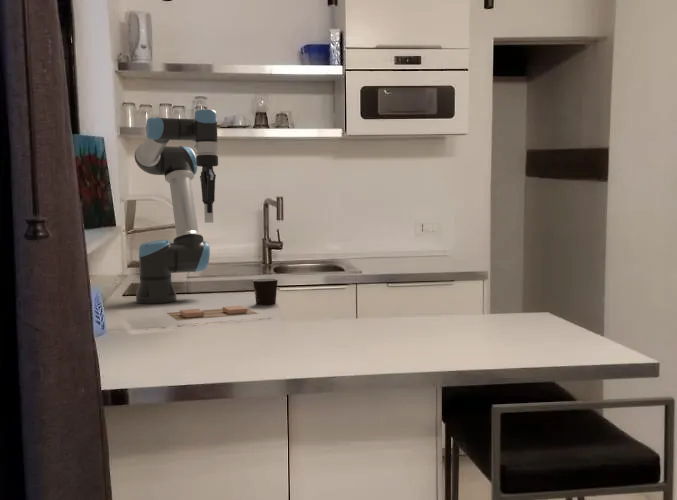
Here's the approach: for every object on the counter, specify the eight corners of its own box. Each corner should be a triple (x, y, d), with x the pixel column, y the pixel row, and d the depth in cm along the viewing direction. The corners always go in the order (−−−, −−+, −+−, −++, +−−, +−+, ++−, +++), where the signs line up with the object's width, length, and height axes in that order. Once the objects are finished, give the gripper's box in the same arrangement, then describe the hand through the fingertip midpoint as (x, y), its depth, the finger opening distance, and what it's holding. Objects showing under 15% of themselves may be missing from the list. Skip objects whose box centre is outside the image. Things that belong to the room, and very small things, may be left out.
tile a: (179, 310, 228) (185, 313, 220) (198, 308, 230) (204, 311, 223) (179, 314, 228) (185, 318, 221) (198, 313, 230) (204, 316, 223)
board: (166, 317, 232) (166, 312, 232) (243, 311, 243) (243, 306, 243) (177, 325, 217) (177, 320, 217) (258, 318, 228) (258, 313, 227)
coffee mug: (274, 310, 245) (273, 281, 244) (250, 309, 246) (249, 281, 246) (283, 305, 256) (282, 277, 255) (260, 305, 258) (260, 277, 257)
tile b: (222, 306, 233) (228, 310, 226) (240, 305, 236) (247, 308, 229) (222, 311, 234) (229, 314, 226) (240, 310, 236) (247, 313, 229)
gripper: (192, 156, 252) (194, 222, 254) (200, 153, 240) (202, 223, 242) (213, 156, 255) (214, 221, 257) (222, 153, 243) (224, 222, 245)
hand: (209, 222), depth 249 cm, fingers closed
